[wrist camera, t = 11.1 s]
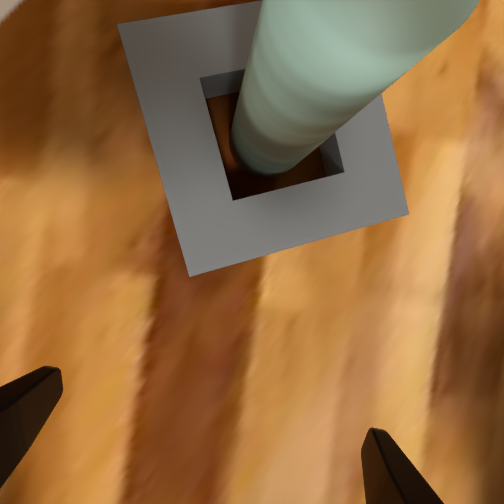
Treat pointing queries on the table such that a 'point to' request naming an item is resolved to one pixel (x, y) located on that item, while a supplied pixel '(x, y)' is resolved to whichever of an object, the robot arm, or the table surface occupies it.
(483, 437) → the table surface
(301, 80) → the peg
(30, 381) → the robot arm
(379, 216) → the holder board
